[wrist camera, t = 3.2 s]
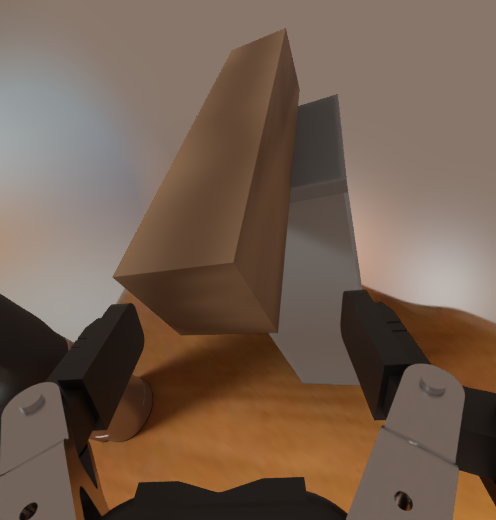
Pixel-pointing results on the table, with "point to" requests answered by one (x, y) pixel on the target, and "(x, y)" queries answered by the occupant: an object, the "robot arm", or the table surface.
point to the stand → (318, 251)
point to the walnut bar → (224, 204)
